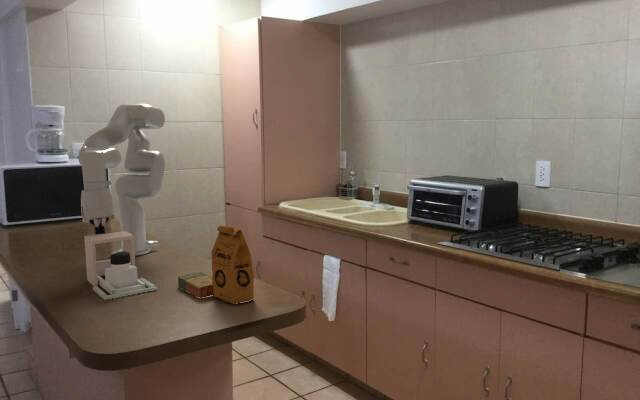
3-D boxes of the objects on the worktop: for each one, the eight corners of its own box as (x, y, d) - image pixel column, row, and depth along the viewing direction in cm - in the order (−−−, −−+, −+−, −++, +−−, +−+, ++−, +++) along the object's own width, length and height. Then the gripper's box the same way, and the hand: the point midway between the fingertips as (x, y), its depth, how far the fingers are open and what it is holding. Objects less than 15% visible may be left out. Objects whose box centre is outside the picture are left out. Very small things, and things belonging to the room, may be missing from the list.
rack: (119, 271, 199) (119, 258, 199) (145, 289, 179) (144, 274, 178) (89, 276, 193) (88, 262, 193) (112, 295, 173) (111, 279, 172)
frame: (143, 280, 189) (143, 277, 189) (157, 290, 178) (157, 287, 178) (92, 289, 179) (92, 286, 179) (104, 300, 169) (104, 296, 169)
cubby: (127, 273, 198) (125, 231, 195) (136, 279, 190) (133, 235, 188) (87, 280, 190) (84, 236, 188) (94, 286, 183) (91, 240, 180)
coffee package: (230, 308, 161) (227, 232, 157) (208, 298, 170) (206, 226, 167) (259, 301, 167) (257, 228, 164) (237, 291, 176) (235, 222, 173)
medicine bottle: (138, 287, 182) (136, 251, 180) (120, 293, 176) (117, 256, 174) (124, 284, 186) (122, 248, 184) (105, 290, 180) (103, 253, 178)
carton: (199, 300, 169) (199, 287, 168) (177, 288, 181) (177, 275, 181) (224, 295, 174) (224, 281, 173) (201, 283, 186) (200, 270, 186)
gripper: (114, 182, 203) (118, 231, 207) (70, 186, 195) (75, 238, 199) (120, 184, 198) (124, 235, 201) (75, 189, 189) (80, 242, 193)
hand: (100, 236), depth 200 cm, fingers closed
